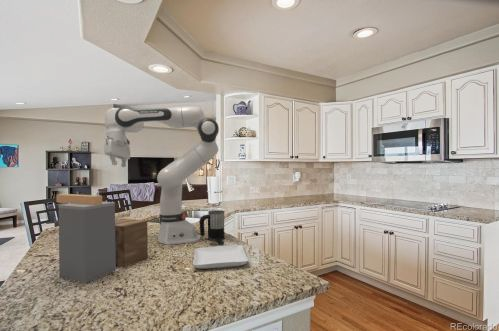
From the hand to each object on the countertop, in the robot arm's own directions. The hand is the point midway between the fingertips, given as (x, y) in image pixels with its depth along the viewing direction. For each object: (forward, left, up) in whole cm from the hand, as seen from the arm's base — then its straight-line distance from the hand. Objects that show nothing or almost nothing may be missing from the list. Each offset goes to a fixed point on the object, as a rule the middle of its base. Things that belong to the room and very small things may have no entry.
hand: (119, 166), depth 136 cm
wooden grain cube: (-10, +24, -40) cm, 48 cm away
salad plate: (-50, +32, -41) cm, 72 cm away
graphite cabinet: (-1, +38, -40) cm, 55 cm away
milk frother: (-49, +2, -40) cm, 63 cm away
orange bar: (+3, +35, -14) cm, 38 cm away
